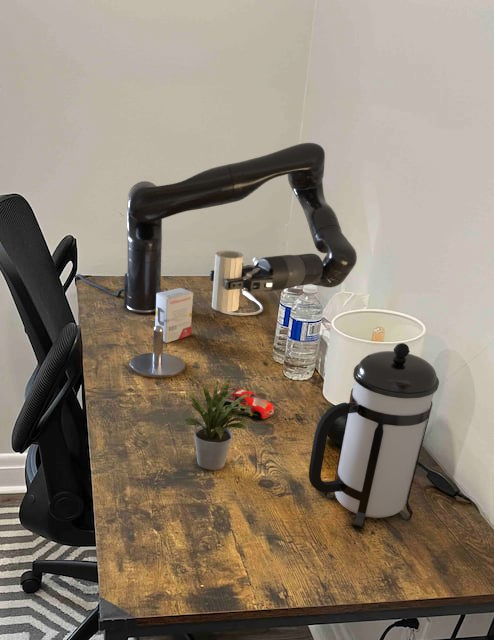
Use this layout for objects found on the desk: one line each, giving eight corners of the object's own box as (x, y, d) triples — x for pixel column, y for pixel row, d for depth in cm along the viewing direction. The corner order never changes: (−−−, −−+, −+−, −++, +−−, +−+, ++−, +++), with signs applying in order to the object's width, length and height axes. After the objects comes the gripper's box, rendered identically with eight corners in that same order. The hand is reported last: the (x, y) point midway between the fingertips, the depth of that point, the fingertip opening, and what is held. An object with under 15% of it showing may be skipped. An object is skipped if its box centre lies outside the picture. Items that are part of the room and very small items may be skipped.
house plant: (191, 493, 129) (196, 409, 120) (155, 456, 139) (158, 376, 130) (259, 475, 134) (269, 394, 126) (220, 440, 145) (227, 364, 136)
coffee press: (334, 473, 136) (363, 317, 120) (421, 500, 129) (464, 339, 113) (299, 519, 123) (326, 352, 107) (393, 551, 116) (437, 378, 100)
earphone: (252, 278, 221) (266, 252, 203) (255, 331, 219) (270, 309, 201) (207, 278, 220) (218, 252, 202) (210, 331, 217) (221, 310, 200)
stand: (118, 368, 172) (118, 327, 166) (149, 351, 181) (150, 311, 176) (165, 383, 166) (167, 341, 161) (195, 364, 175) (197, 324, 170)
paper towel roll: (207, 308, 166) (210, 254, 160) (219, 301, 171) (224, 249, 164) (230, 314, 164) (235, 260, 157) (242, 306, 168) (248, 254, 162)
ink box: (179, 330, 194) (181, 286, 187) (192, 336, 190) (194, 291, 184) (153, 337, 189) (154, 292, 182) (166, 343, 186) (167, 298, 179)
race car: (277, 413, 155) (279, 396, 153) (266, 423, 151) (268, 406, 149) (222, 397, 161) (224, 380, 159) (210, 406, 157) (212, 389, 155)
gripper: (296, 298, 166) (233, 307, 159) (261, 279, 177) (200, 287, 170) (301, 265, 162) (236, 272, 155) (264, 247, 173) (202, 254, 166)
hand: (218, 280), depth 163 cm, fingers closed on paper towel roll, 6 cm apart
